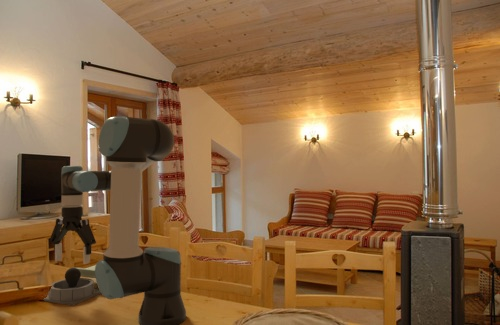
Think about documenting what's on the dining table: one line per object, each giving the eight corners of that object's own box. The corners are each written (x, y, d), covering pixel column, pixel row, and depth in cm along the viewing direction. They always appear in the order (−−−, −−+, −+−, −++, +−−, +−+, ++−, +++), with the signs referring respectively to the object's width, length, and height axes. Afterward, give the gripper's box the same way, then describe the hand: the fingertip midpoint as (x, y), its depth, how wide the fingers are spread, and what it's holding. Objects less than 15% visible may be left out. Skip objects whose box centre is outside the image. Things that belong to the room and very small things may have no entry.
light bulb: (61, 295, 155) (61, 268, 155) (70, 291, 161) (71, 265, 161) (74, 296, 154) (75, 269, 154) (83, 292, 159) (84, 266, 160)
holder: (103, 292, 162) (103, 280, 162) (72, 305, 147) (72, 292, 147) (71, 288, 168) (71, 276, 168) (38, 300, 153) (38, 287, 153)
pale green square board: (128, 269, 177) (128, 262, 177) (103, 279, 162) (103, 271, 162) (98, 266, 183) (98, 259, 183) (71, 275, 168) (71, 268, 168)
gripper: (105, 206, 157) (105, 262, 156) (54, 204, 165) (54, 257, 165) (91, 207, 150) (91, 266, 149) (39, 206, 158) (39, 261, 158)
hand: (72, 262), depth 157 cm, fingers open, 13 cm apart
